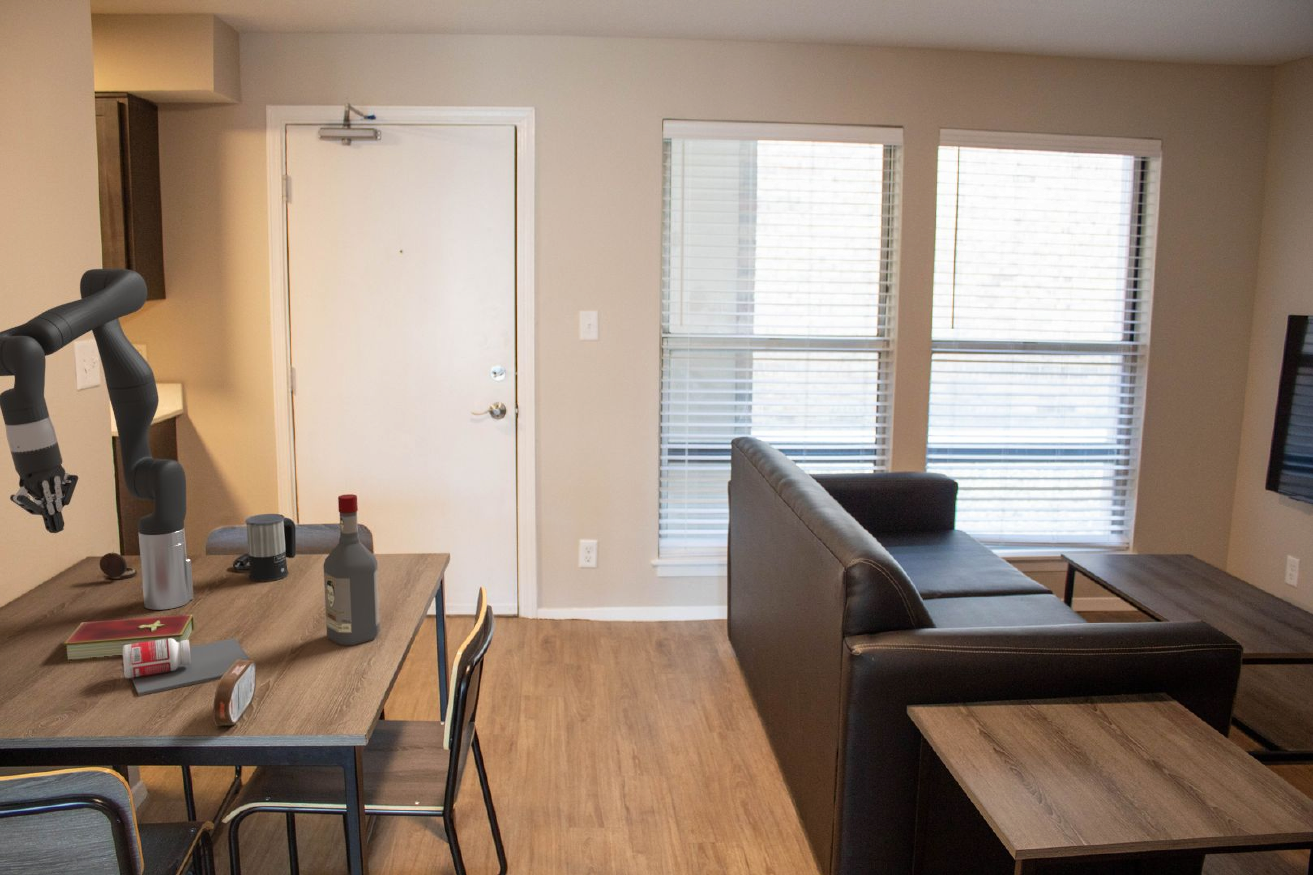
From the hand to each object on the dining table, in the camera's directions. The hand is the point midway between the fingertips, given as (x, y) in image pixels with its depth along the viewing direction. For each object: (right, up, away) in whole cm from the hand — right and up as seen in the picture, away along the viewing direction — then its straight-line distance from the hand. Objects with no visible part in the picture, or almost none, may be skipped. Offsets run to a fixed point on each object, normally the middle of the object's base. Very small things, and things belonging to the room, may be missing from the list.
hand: (56, 531), depth 186 cm
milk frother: (+14, -16, +60) cm, 63 cm away
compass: (-19, -17, +55) cm, 60 cm away
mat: (+24, -26, +3) cm, 35 cm away
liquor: (+50, -24, +19) cm, 59 cm away
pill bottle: (+15, -24, -4) cm, 28 cm away
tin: (+41, -30, -16) cm, 53 cm away
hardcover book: (+7, -25, +14) cm, 29 cm away
